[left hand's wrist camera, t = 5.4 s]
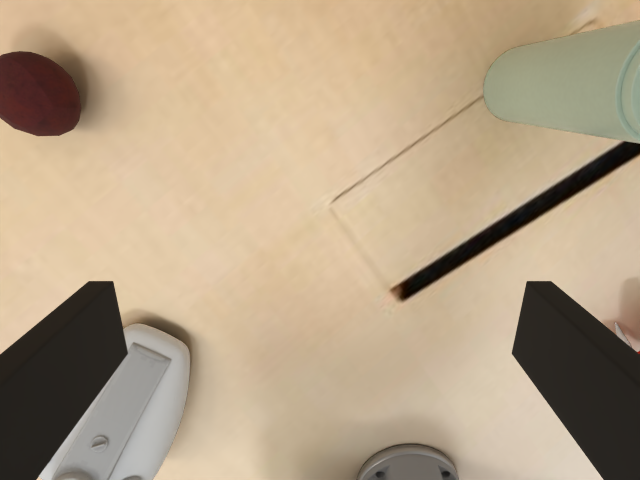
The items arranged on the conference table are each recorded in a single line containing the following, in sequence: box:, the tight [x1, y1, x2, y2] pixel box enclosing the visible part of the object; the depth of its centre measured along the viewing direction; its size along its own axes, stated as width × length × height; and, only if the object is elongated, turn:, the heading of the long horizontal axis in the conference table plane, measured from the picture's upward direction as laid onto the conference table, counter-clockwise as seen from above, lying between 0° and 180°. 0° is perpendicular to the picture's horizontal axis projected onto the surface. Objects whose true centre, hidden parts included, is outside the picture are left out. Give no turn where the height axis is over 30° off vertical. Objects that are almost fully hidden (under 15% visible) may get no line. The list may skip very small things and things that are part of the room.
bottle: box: [483, 20, 640, 143], centre depth 28 cm, size 7×7×26 cm
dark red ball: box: [0, 51, 81, 136], centre depth 37 cm, size 7×8×7 cm
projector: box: [39, 323, 190, 480], centre depth 48 cm, size 22×23×15 cm
